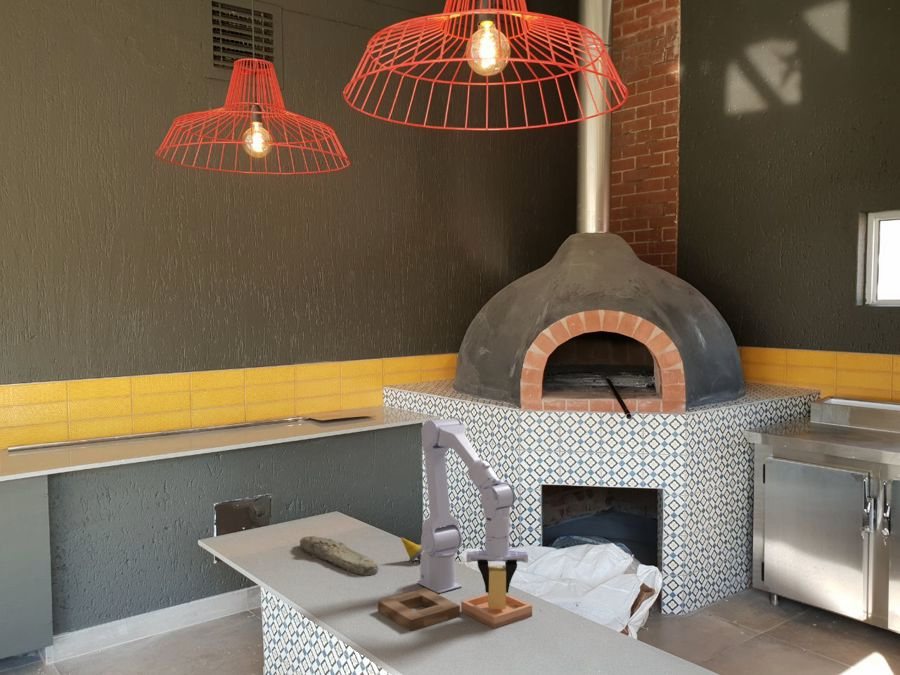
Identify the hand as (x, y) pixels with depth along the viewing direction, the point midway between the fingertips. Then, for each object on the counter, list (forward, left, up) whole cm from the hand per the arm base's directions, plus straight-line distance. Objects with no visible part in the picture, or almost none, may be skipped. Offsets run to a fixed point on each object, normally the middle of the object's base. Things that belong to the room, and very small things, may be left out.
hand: (496, 591), depth 179 cm
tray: (0, 0, -5) cm, 5 cm away
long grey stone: (-57, -12, -6) cm, 58 cm away
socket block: (-11, -15, -5) cm, 19 cm away
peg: (0, 0, -3) cm, 3 cm away
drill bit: (-42, +5, -6) cm, 43 cm away
